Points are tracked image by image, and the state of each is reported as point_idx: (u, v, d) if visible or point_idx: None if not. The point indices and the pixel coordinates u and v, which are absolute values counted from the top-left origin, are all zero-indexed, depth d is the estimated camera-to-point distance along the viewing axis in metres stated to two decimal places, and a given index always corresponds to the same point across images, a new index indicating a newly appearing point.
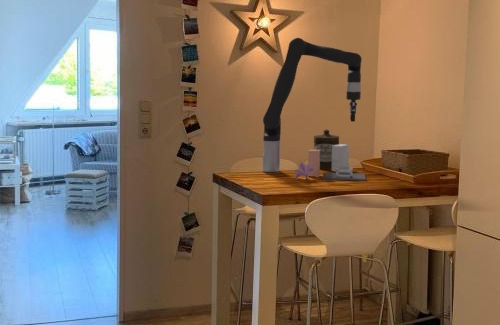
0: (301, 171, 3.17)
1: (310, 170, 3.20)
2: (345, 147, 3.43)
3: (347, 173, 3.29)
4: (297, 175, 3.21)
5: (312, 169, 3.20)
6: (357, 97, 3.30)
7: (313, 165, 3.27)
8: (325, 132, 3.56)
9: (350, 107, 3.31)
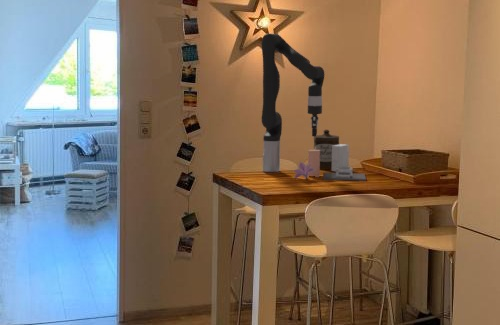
0: (301, 171, 3.18)
1: (309, 170, 3.20)
2: (345, 147, 3.43)
3: (347, 173, 3.29)
4: (297, 175, 3.21)
5: (312, 169, 3.21)
6: (318, 111, 3.21)
7: (313, 165, 3.27)
8: (325, 132, 3.56)
9: (311, 121, 3.22)
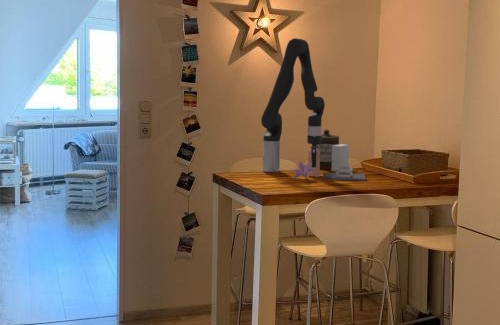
0: (300, 171, 3.18)
1: (309, 169, 3.20)
2: (345, 147, 3.43)
3: (347, 173, 3.29)
4: (296, 175, 3.21)
5: (311, 169, 3.21)
6: (318, 141, 3.24)
7: None
8: (325, 132, 3.56)
9: (311, 152, 3.26)
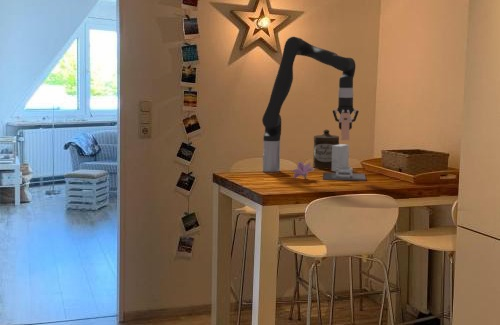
0: (300, 171, 3.18)
1: (308, 169, 3.21)
2: (345, 147, 3.43)
3: (347, 173, 3.29)
4: (296, 175, 3.21)
5: (311, 169, 3.21)
6: (339, 103, 3.18)
7: None
8: (325, 132, 3.56)
9: (340, 114, 3.22)
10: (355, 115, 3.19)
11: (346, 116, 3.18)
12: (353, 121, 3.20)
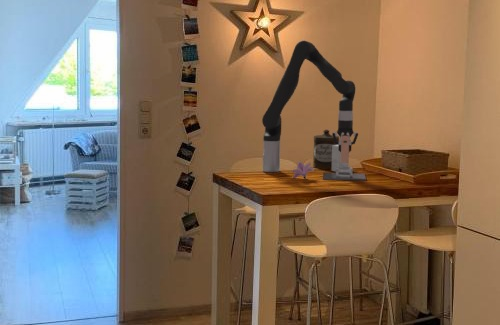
0: (299, 171, 3.18)
1: (308, 169, 3.21)
2: None
3: (347, 173, 3.29)
4: (295, 175, 3.21)
5: (310, 169, 3.21)
6: (339, 126, 3.20)
7: None
8: (325, 132, 3.56)
9: None
10: (355, 138, 3.21)
11: (345, 139, 3.20)
12: None
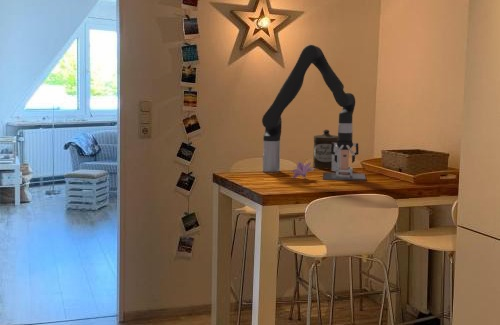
0: (299, 171, 3.18)
1: (308, 169, 3.21)
2: None
3: None
4: (295, 175, 3.21)
5: (310, 169, 3.21)
6: (339, 138, 3.21)
7: None
8: (325, 132, 3.56)
9: None
10: (356, 148, 3.21)
11: (345, 153, 3.21)
12: (356, 154, 3.22)
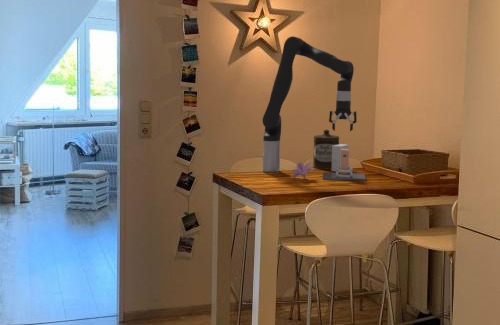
0: (299, 171, 3.18)
1: (307, 169, 3.21)
2: (345, 147, 3.43)
3: None
4: (295, 175, 3.21)
5: (310, 169, 3.21)
6: (337, 106, 3.20)
7: None
8: (325, 132, 3.56)
9: None
10: (354, 116, 3.20)
11: (345, 153, 3.21)
12: (354, 122, 3.21)
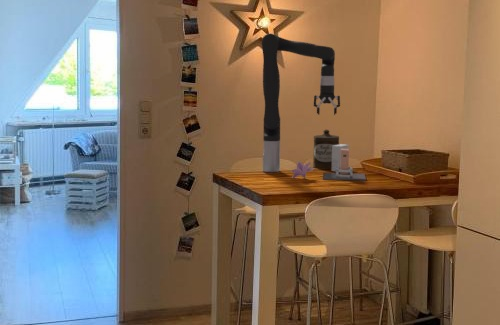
0: (299, 171, 3.18)
1: (307, 169, 3.21)
2: (345, 147, 3.43)
3: None
4: (295, 175, 3.22)
5: (309, 169, 3.21)
6: (321, 91, 3.31)
7: None
8: (325, 132, 3.56)
9: (321, 100, 3.36)
10: (338, 100, 3.32)
11: (345, 153, 3.21)
12: (338, 106, 3.33)
